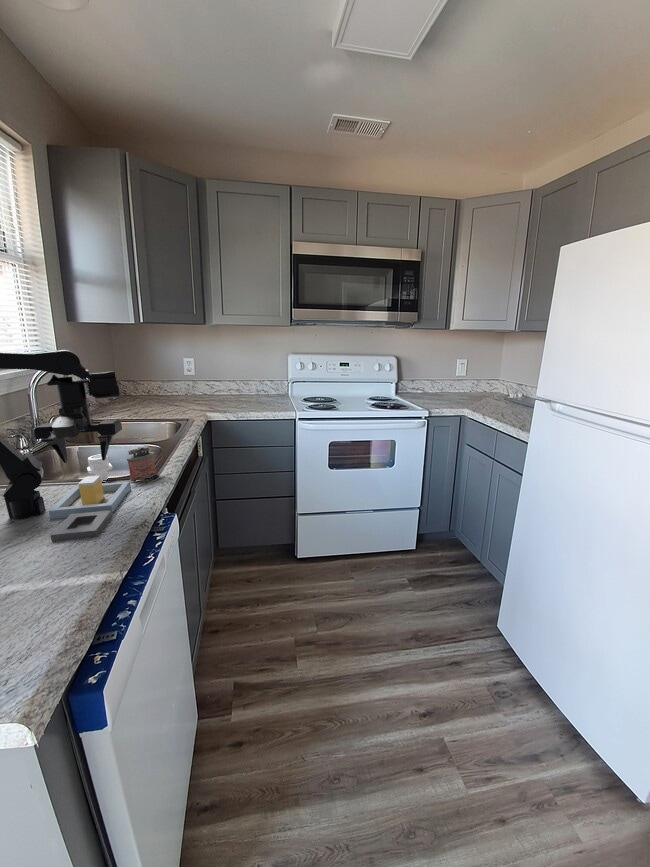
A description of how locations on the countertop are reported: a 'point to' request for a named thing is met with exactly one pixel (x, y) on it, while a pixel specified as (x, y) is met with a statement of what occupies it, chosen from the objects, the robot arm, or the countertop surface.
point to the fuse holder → (81, 525)
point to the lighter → (141, 463)
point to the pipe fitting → (99, 466)
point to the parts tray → (108, 488)
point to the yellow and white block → (91, 490)
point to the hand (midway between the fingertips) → (85, 461)
